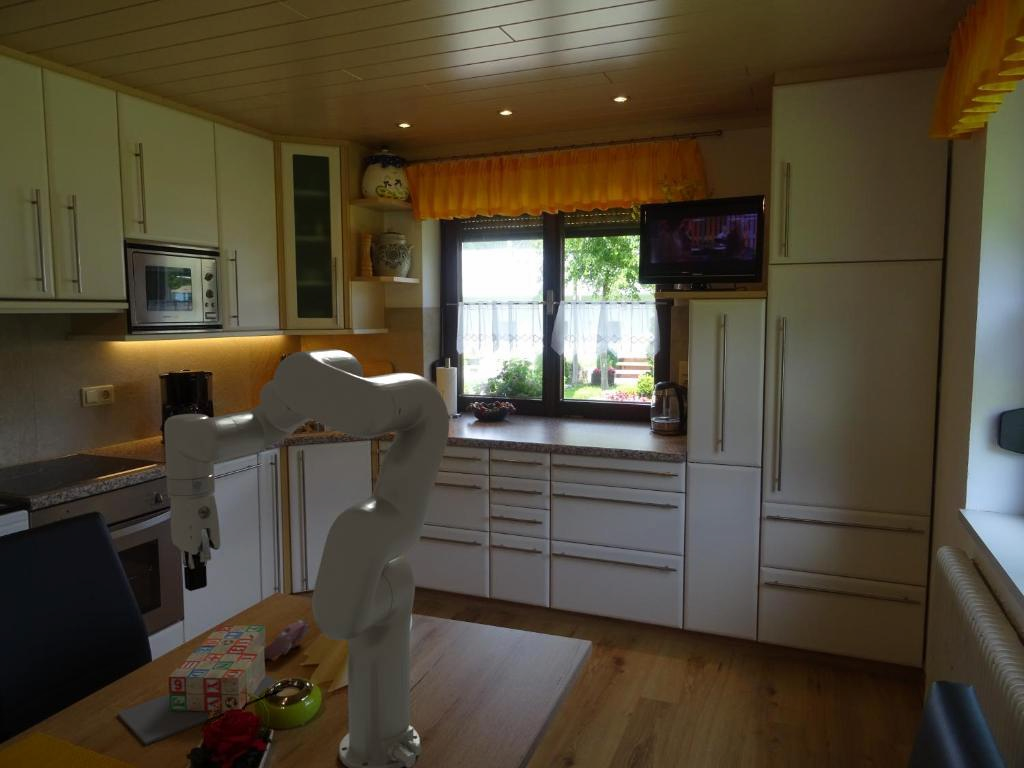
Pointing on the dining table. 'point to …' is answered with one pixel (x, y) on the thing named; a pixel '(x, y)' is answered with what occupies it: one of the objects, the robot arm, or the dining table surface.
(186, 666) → the stack of blocks
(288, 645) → the purple toy animal
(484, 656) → the dining table surface
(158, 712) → the mat
